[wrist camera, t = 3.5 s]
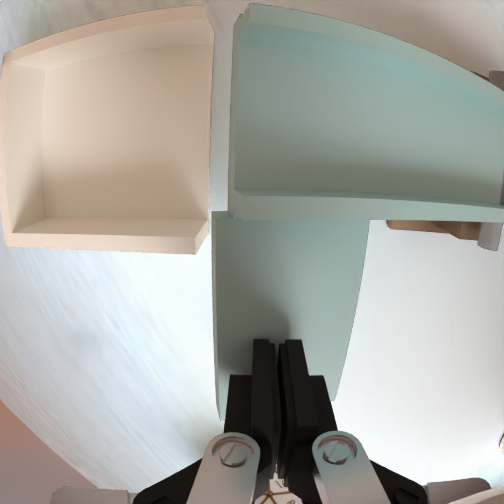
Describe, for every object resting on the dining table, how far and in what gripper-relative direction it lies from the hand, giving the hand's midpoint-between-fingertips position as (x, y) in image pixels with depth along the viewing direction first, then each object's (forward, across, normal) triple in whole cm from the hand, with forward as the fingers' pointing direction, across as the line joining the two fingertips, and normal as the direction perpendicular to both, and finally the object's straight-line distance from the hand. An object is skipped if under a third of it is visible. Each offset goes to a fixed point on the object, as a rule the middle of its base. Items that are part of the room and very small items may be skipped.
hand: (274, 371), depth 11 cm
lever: (+4, -11, -5) cm, 12 cm away
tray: (+9, +9, -8) cm, 15 cm away
